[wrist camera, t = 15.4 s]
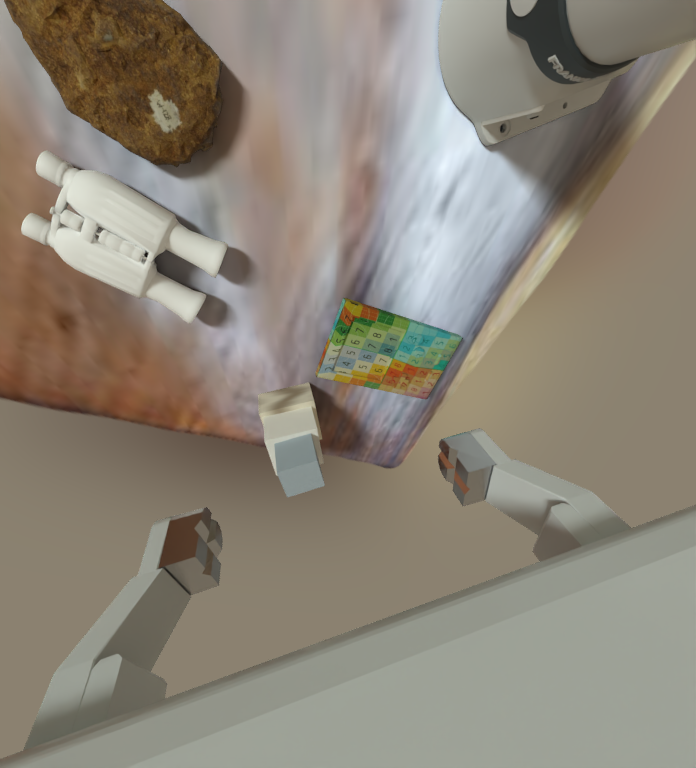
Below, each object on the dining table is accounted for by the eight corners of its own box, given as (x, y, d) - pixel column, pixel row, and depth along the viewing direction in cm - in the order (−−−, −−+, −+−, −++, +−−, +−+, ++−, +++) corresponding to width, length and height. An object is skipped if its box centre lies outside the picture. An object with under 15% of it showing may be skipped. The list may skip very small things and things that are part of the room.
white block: (311, 406, 46) (317, 428, 41) (318, 440, 50) (323, 463, 45) (263, 417, 44) (264, 441, 40) (274, 450, 48) (276, 475, 44)
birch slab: (308, 381, 49) (314, 400, 45) (317, 419, 54) (322, 439, 50) (258, 393, 48) (259, 413, 44) (271, 431, 53) (273, 452, 48)
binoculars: (196, 317, 40) (190, 331, 36) (35, 242, 32) (6, 251, 28) (232, 243, 36) (229, 250, 32) (62, 138, 28) (32, 132, 25)
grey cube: (310, 433, 42) (317, 460, 38) (318, 457, 45) (324, 485, 41) (274, 443, 41) (276, 472, 37) (284, 467, 44) (287, 497, 40)
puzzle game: (429, 402, 52) (317, 380, 44) (417, 387, 56) (312, 364, 48) (466, 340, 47) (347, 302, 39) (450, 328, 51) (338, 291, 43)
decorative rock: (14, 86, 26) (203, 185, 33) (-17, 77, 23) (198, 189, 30) (17, -110, 21) (237, 56, 28) (-23, -155, 18) (236, 45, 25)
